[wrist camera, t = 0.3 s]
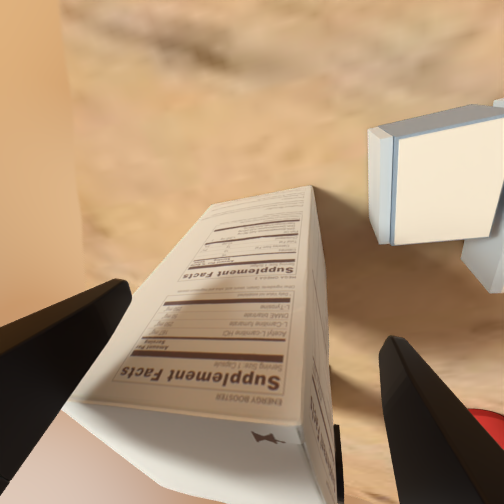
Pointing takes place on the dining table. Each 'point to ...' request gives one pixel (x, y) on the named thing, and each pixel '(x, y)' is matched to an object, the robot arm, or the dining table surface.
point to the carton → (436, 176)
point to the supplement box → (226, 361)
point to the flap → (488, 249)
